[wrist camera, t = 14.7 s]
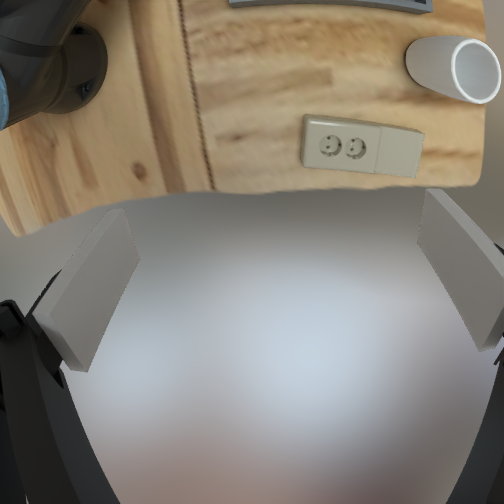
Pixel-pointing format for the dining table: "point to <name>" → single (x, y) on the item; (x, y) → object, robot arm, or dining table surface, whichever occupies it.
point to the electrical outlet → (360, 146)
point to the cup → (455, 67)
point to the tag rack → (416, 3)
